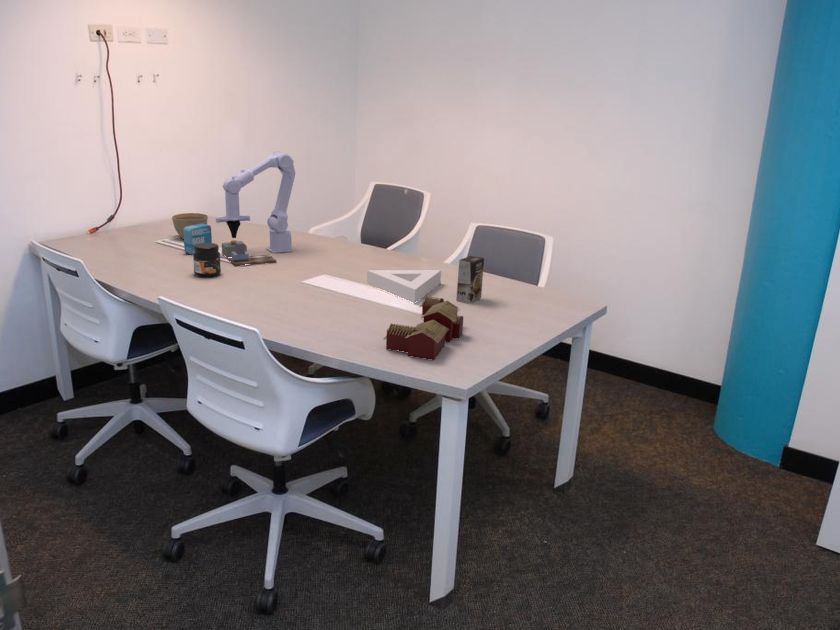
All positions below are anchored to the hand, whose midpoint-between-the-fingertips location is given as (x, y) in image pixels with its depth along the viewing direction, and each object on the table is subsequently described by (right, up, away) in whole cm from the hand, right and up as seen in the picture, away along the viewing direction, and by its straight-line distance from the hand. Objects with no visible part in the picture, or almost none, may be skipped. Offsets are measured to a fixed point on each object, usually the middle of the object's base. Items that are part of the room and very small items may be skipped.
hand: (233, 237), depth 326 cm
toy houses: (+85, -40, -79) cm, 123 cm away
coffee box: (+101, -28, -43) cm, 113 cm away
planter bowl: (-27, +2, +27) cm, 39 cm away
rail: (+10, -11, -6) cm, 16 cm away
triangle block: (+73, -24, -34) cm, 84 cm away
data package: (-17, -6, +5) cm, 19 cm away
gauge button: (0, -6, +2) cm, 6 cm away
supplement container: (-4, -18, -27) cm, 32 cm away
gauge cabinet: (0, -7, +3) cm, 8 cm away
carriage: (+5, -10, -9) cm, 15 cm away
